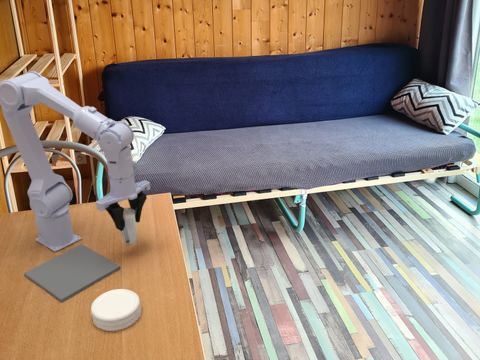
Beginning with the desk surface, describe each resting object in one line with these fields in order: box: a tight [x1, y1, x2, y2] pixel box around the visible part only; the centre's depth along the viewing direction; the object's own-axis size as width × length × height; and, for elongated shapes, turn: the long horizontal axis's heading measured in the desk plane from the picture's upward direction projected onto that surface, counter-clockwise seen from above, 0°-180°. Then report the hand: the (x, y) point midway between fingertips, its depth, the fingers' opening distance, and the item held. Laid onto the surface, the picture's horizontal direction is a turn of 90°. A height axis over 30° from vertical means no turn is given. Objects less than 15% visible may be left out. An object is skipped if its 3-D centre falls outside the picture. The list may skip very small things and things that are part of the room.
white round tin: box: [90, 288, 142, 332], centre depth 106 cm, size 10×10×4 cm
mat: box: [23, 243, 122, 303], centre depth 121 cm, size 16×16×1 cm
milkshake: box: [120, 207, 138, 246], centre depth 124 cm, size 5×5×10 cm
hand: (128, 225), depth 124 cm, fingers closed on milkshake, 4 cm apart
